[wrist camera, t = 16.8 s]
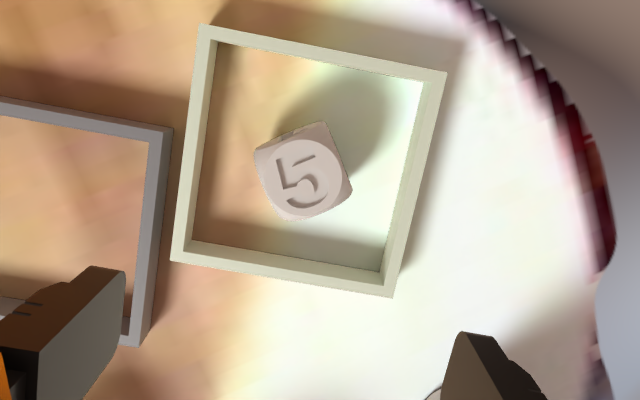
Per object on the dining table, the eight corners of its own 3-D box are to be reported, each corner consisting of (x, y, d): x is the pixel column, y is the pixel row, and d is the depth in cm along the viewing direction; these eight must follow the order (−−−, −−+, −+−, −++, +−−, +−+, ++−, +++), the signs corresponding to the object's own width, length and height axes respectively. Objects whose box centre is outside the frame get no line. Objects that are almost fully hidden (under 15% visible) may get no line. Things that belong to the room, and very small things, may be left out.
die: (324, 117, 34) (325, 124, 29) (350, 183, 35) (356, 200, 30) (257, 144, 35) (248, 156, 30) (285, 208, 36) (281, 229, 31)
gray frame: (173, 128, 34) (163, 132, 32) (150, 330, 38) (138, 347, 35) (-60, 84, 33) (-90, 85, 31) (-61, 296, 37) (-87, 311, 34)
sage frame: (438, 72, 33) (447, 72, 31) (387, 283, 37) (392, 298, 35) (207, 26, 32) (199, 22, 30) (179, 248, 36) (169, 260, 34)
